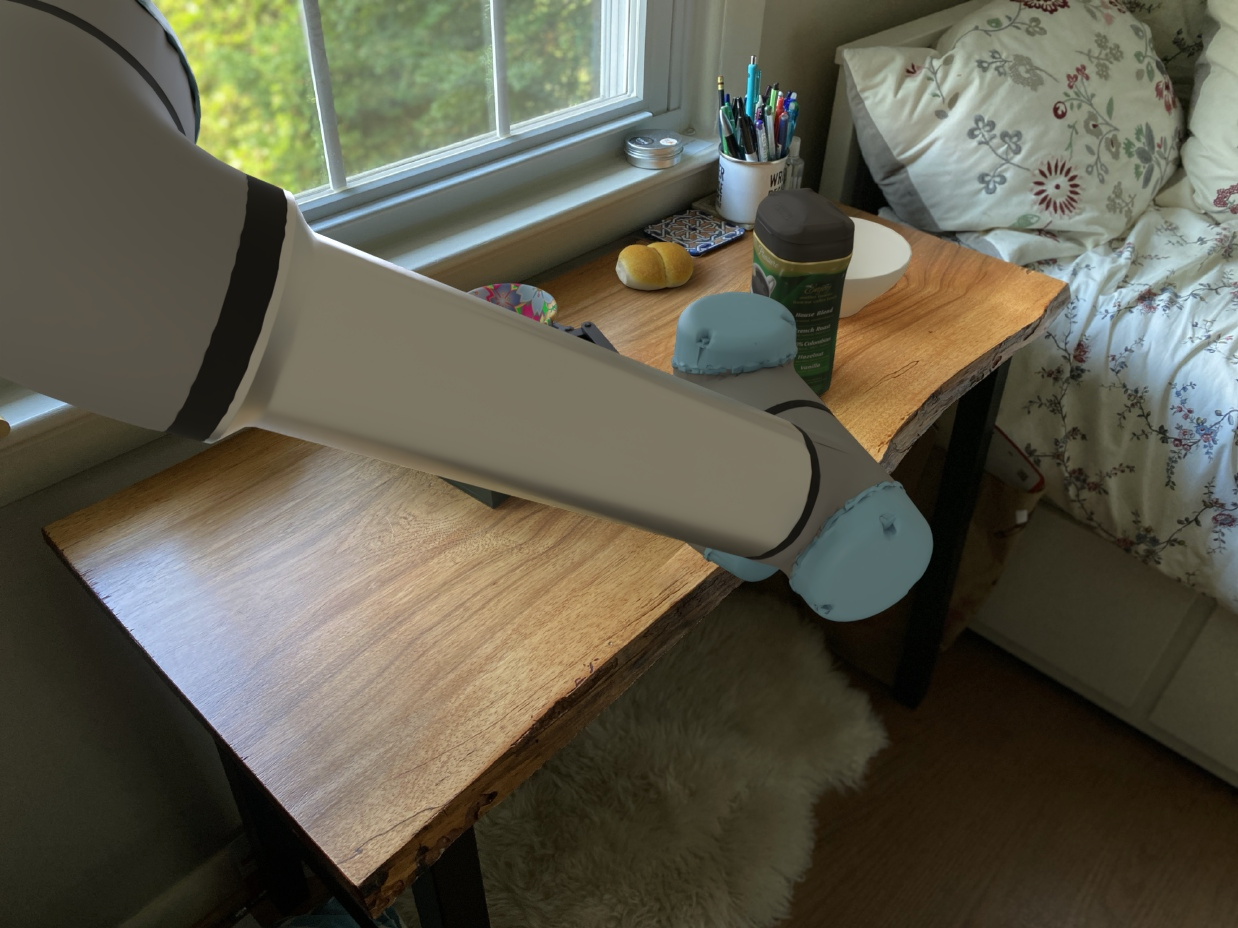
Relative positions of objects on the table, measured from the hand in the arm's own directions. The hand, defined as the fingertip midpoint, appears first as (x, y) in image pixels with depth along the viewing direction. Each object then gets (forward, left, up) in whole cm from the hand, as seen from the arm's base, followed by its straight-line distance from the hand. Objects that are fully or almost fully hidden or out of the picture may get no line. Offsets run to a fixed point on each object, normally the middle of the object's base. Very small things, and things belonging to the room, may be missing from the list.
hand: (462, 336), depth 85 cm
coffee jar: (+31, -2, -8) cm, 32 cm away
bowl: (+41, +12, -8) cm, 44 cm away
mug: (+2, -3, -7) cm, 8 cm away
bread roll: (+23, +22, -8) cm, 33 cm away
